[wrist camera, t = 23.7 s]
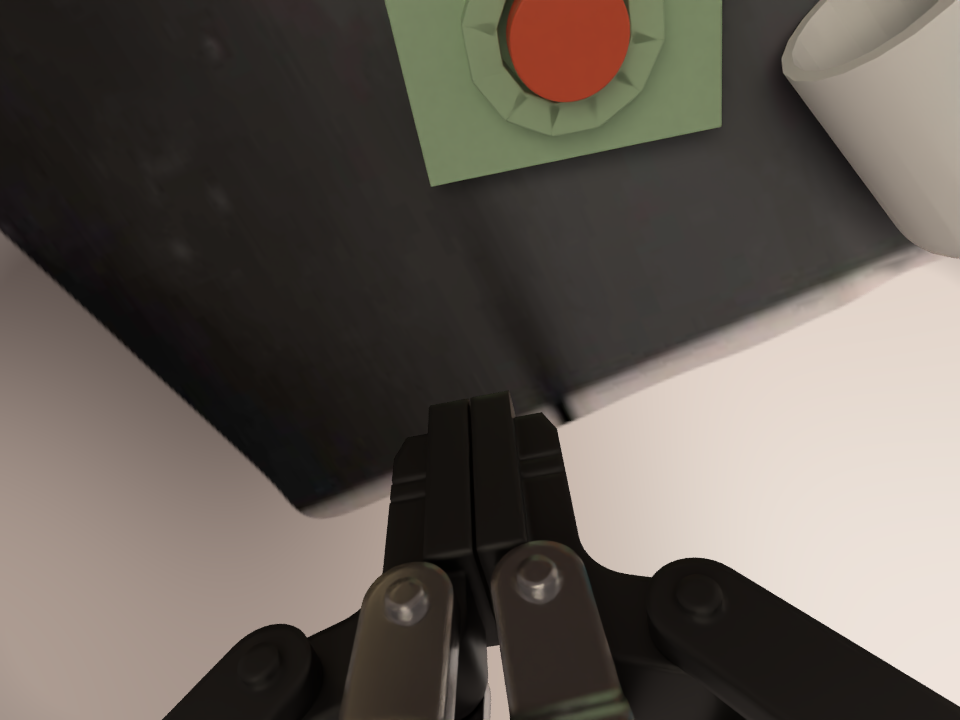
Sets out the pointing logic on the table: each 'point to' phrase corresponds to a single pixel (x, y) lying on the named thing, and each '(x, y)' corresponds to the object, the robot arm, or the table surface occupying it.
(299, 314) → the table surface
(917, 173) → the mug
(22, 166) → the table surface
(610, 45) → the button
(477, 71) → the control block
